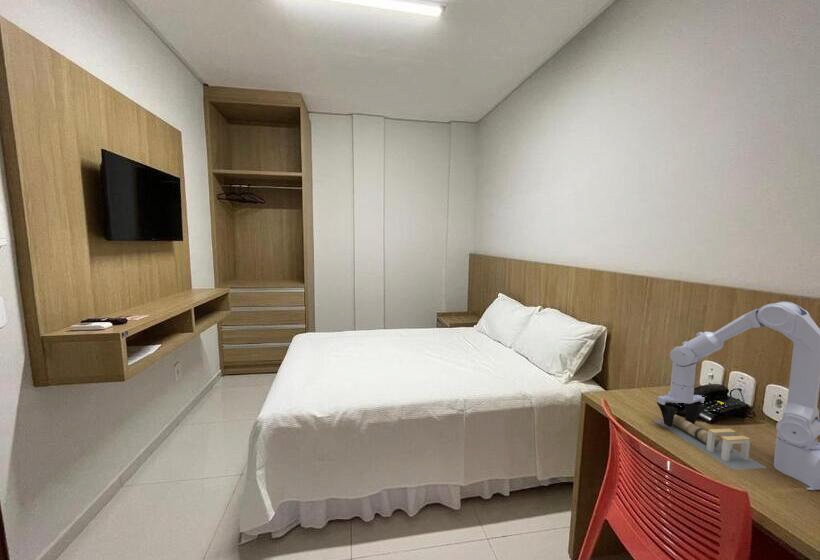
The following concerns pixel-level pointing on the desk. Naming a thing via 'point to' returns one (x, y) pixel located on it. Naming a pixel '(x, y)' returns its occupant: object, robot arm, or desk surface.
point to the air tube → (692, 429)
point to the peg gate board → (720, 446)
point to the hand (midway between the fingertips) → (678, 424)
